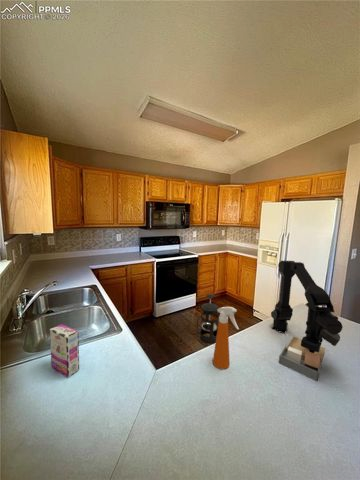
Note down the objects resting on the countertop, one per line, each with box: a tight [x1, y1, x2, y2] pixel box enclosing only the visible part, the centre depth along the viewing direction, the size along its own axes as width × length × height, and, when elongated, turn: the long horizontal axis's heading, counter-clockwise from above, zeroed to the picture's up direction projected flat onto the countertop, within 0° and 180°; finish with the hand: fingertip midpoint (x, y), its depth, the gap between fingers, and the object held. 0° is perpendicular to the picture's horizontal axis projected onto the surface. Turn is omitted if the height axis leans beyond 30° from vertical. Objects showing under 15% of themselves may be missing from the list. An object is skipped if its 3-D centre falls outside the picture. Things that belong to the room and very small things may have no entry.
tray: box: [278, 345, 323, 382], centre depth 84 cm, size 14×9×4 cm, turn 48°
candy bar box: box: [49, 323, 80, 379], centre depth 78 cm, size 11×5×16 cm, turn 62°
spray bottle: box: [212, 306, 240, 370], centre depth 81 cm, size 7×11×26 cm, turn 39°
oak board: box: [286, 336, 326, 365], centre depth 92 cm, size 13×13×2 cm
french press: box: [196, 293, 220, 345], centre depth 100 cm, size 12×9×23 cm
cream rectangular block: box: [287, 347, 302, 364], centre depth 86 cm, size 5×5×3 cm
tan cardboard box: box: [304, 351, 320, 369], centre depth 83 cm, size 5×5×3 cm
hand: (311, 354), depth 86 cm, fingers closed
